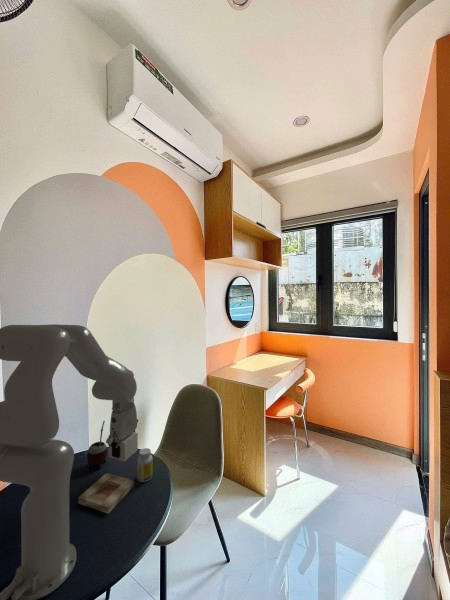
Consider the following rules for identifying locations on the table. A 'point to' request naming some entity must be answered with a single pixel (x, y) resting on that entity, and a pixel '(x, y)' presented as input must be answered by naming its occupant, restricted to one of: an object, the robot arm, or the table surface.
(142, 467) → the supplement bottle
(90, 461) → the mate gourd
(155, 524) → the table surface
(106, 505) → the socket board
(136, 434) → the light gray cube
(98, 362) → the robot arm
